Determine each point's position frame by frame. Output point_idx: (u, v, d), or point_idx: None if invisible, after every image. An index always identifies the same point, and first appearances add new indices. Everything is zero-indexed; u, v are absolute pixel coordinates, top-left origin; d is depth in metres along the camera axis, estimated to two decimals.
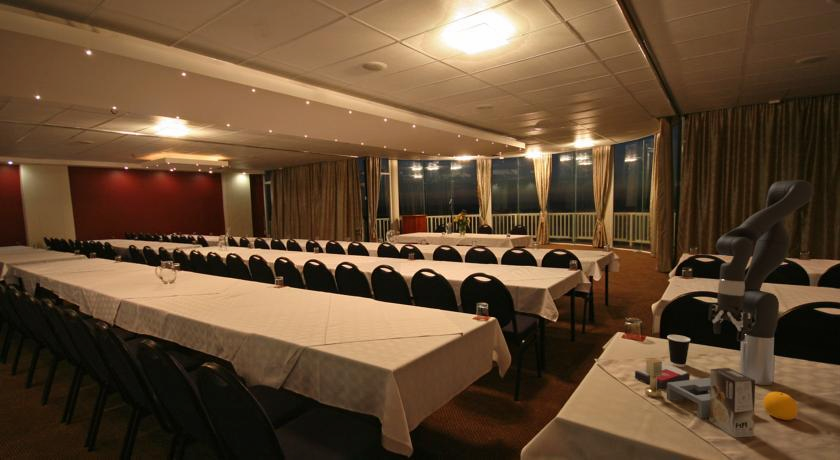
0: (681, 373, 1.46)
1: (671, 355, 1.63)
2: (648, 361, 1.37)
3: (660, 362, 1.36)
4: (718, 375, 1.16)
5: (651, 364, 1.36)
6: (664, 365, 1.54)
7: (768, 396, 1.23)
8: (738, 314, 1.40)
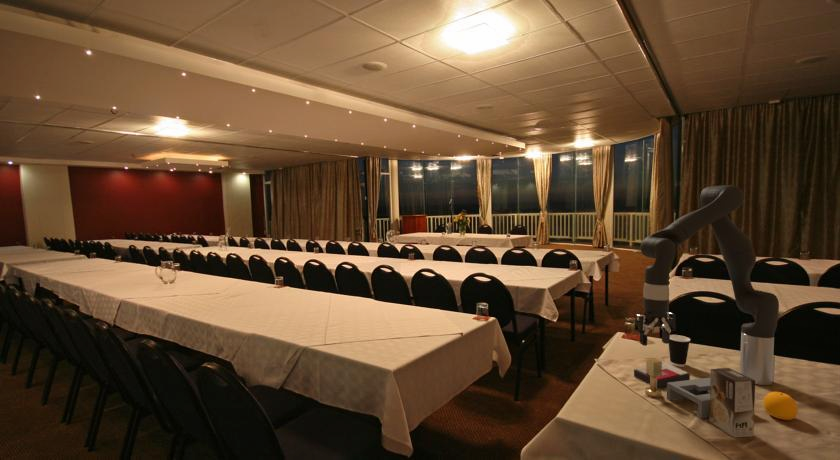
0: (681, 373, 1.46)
1: (671, 355, 1.63)
2: (648, 361, 1.37)
3: (660, 362, 1.36)
4: (718, 375, 1.16)
5: (651, 364, 1.36)
6: (665, 365, 1.54)
7: (768, 396, 1.23)
8: (667, 316, 1.36)
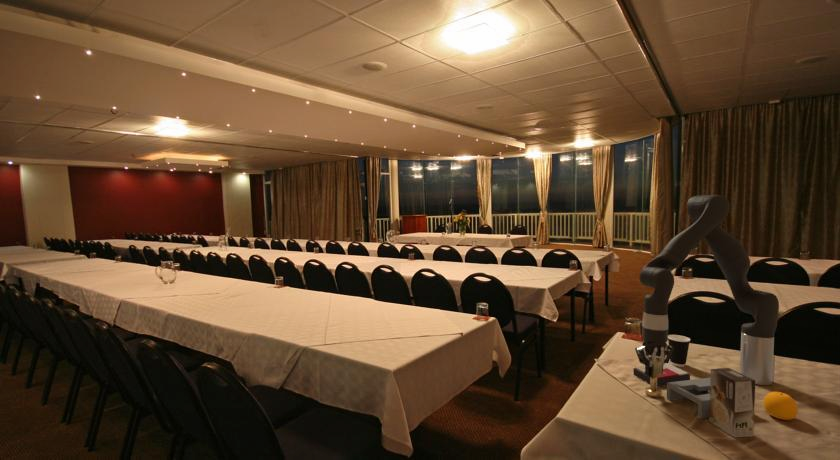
0: (680, 373, 1.46)
1: (671, 355, 1.63)
2: (648, 361, 1.37)
3: (660, 362, 1.36)
4: (718, 375, 1.16)
5: None
6: (667, 365, 1.54)
7: (768, 396, 1.23)
8: (665, 347, 1.36)
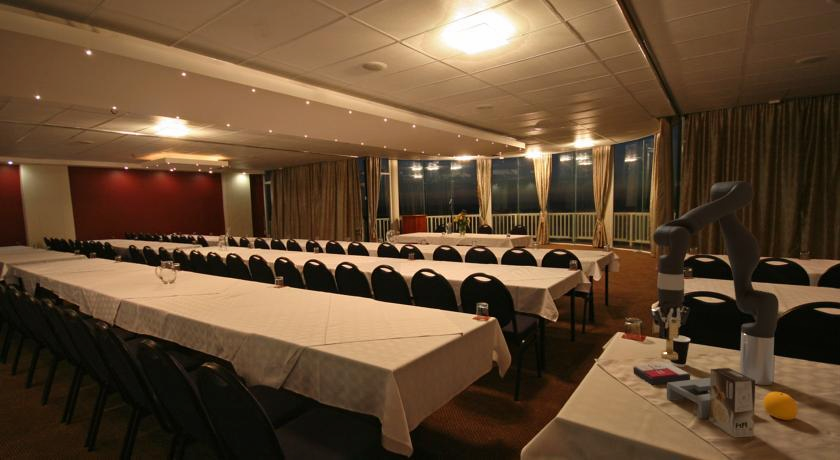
0: (680, 373, 1.46)
1: None
2: (664, 323, 1.34)
3: (676, 323, 1.32)
4: (718, 375, 1.16)
5: None
6: (669, 365, 1.54)
7: (768, 396, 1.23)
8: (682, 308, 1.33)
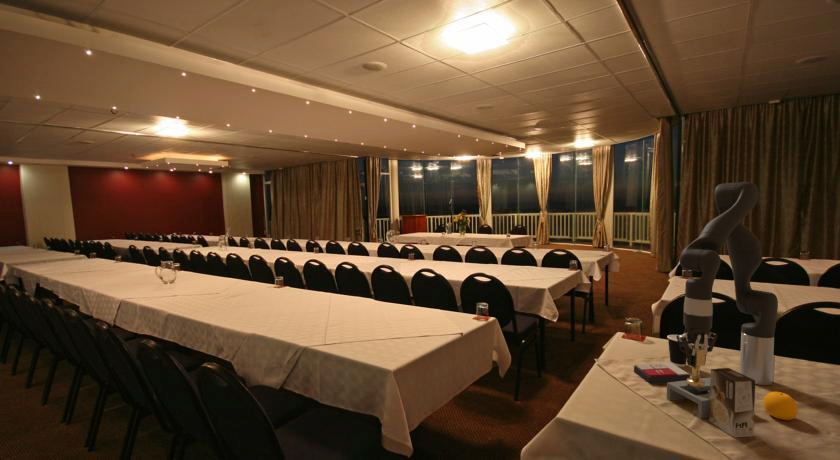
0: (680, 373, 1.46)
1: (671, 355, 1.63)
2: (690, 349, 1.28)
3: (703, 350, 1.27)
4: (718, 375, 1.16)
5: None
6: (671, 365, 1.54)
7: (768, 396, 1.23)
8: None
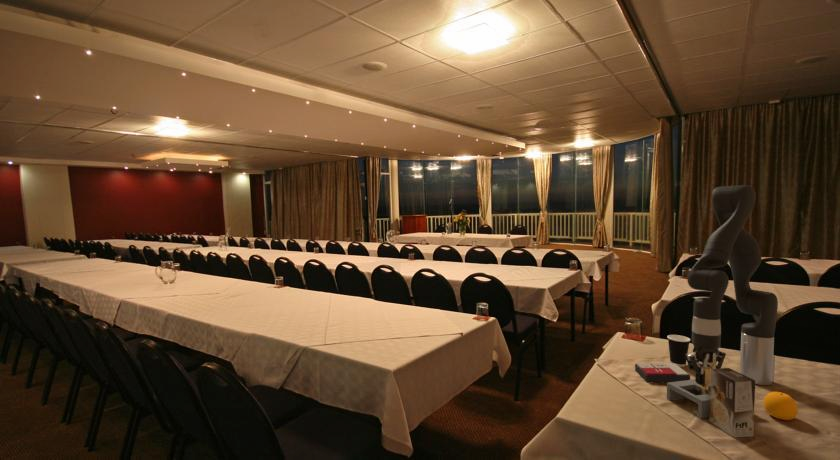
0: (679, 373, 1.46)
1: (671, 355, 1.63)
2: (699, 368, 1.30)
3: None
4: (718, 375, 1.16)
5: None
6: (673, 365, 1.53)
7: (768, 396, 1.23)
8: (717, 353, 1.29)
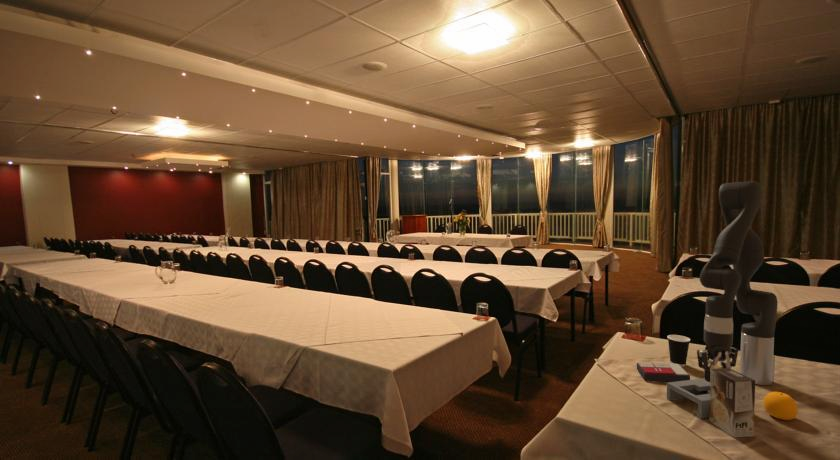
0: (679, 373, 1.46)
1: (671, 355, 1.63)
2: None
3: None
4: (718, 375, 1.16)
5: None
6: (675, 365, 1.53)
7: (768, 396, 1.23)
8: (729, 350, 1.30)
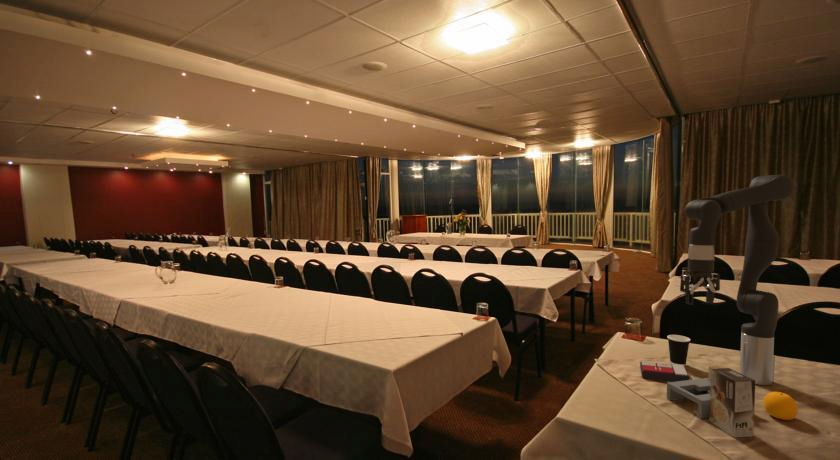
0: (678, 373, 1.46)
1: (671, 355, 1.63)
2: (710, 368, 1.31)
3: None
4: (718, 375, 1.16)
5: None
6: (679, 366, 1.53)
7: (768, 396, 1.23)
8: (711, 277, 1.40)
